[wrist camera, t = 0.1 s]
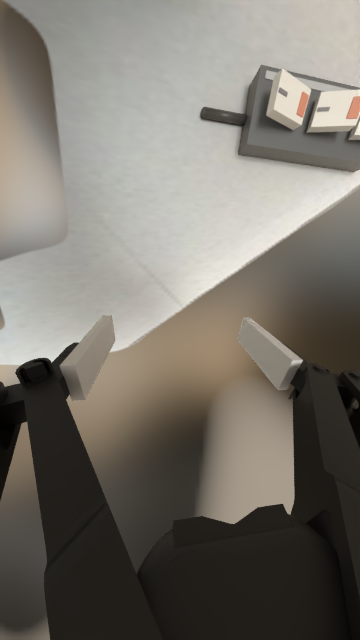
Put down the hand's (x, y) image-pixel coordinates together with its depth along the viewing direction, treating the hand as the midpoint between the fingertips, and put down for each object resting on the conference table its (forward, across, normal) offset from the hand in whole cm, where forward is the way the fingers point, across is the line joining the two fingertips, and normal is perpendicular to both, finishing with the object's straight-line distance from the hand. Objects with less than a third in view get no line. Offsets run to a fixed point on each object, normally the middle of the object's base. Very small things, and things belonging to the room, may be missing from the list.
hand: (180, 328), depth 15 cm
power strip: (+28, +23, +30) cm, 47 cm away
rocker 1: (+22, +18, +30) cm, 42 cm away
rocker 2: (+22, +28, +30) cm, 47 cm away
